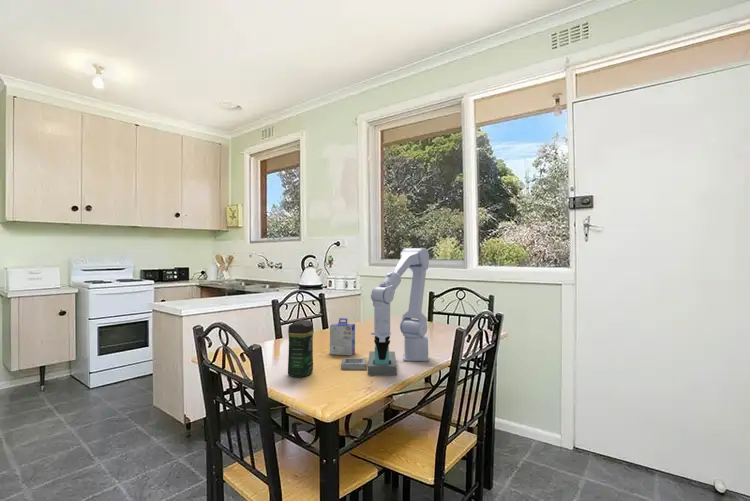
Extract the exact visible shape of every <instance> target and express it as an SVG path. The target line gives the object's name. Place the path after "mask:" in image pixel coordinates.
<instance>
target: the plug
mask: <svg viewBox="0 0 750 501" xmlns="http://www.w3.org/2000/svg"><path fill="white" fill-rule="evenodd" d="M389 345H390V344H389ZM389 345H388V348H387V353H386V358H385V360H379V356H378V350H377V347H376V344H374V351H375V364H389V352H390V347H389Z"/></svg>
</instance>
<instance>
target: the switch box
mask: <svg viewBox="0 0 750 501" xmlns="http://www.w3.org/2000/svg"><path fill="white" fill-rule="evenodd" d="M396 358H397V357H396V351H389V364H375V350H374V351H373V350H372V351H369V352H368V361H367V375H368V376H397V373H398V372H397V368H398V366H397V359H396Z"/></svg>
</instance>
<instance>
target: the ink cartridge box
mask: <svg viewBox="0 0 750 501" xmlns="http://www.w3.org/2000/svg"><path fill="white" fill-rule="evenodd" d="M354 354H356V324H355V323H348V318H347V317H346V318H344V317H342V318H341V317H339V319H338V322H337V323H332V324H330V325H329V355H335V356H336V355H338V356H341V355H342V356H353V355H354Z"/></svg>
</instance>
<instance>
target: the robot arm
mask: <svg viewBox="0 0 750 501" xmlns="http://www.w3.org/2000/svg"><path fill="white" fill-rule="evenodd" d="M399 256H400V259H399V260H398V263H397V264H396V266H395V268H394V269H393V271H389V272H387V274H386V275H385V277H384V278H383V280H382V281H381V282H380V284H379V286H375V287H374V288H373V289H372V291H371V294H370V299H371V301H372V306H373V311H374V313H373V315H374V318H373V321H374V324H373V325H374V326H373V327H374V328H373V329H374V330H373V331H371V332H370V335H373V336H374V340H373V341H374V345H376V347H377V350H378V356H379V360H385V358H386V353H387V348H388V345H390V343H391V340H390V339H391V335H392V332H391V303H392V302H393V300H394V299H395V293H396V290H397V288H399V285H400V284H401V282H402V278H401V277H402V276H403V275H404V274H405V272H406V271H407V270H408V269H409V270H411V272H412V279H411V286H410V295H409V302H408V303H409V304H408V310H407V312H405V313H404V314H402V319H401V320H400V324H399V329H400V332H401V333H402V336H403V337H404V339H403V340H404V341H403V342H404V344H403V345H404V346H403V347H404V354H402V356H403V361H405V362H412V361H413V362H414V361H415V362H416V361H417V362H418V361H419V362H428V361H429V339H428V338H429V337H428V336H427V335H426V334H427V331H428V322H427V321H428V318H427V317H426V316H425V314H423V313H422V309H423V301H424V293H425V285H426V284H425V283H426V276H427V270H428V269H429V264H430V254H429V251H428V250H427V248H425V247H419V248H418V247H416V248H415V247H412V248H411V247H404V248H403V249H402V251H401V252H400V255H399Z"/></svg>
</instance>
